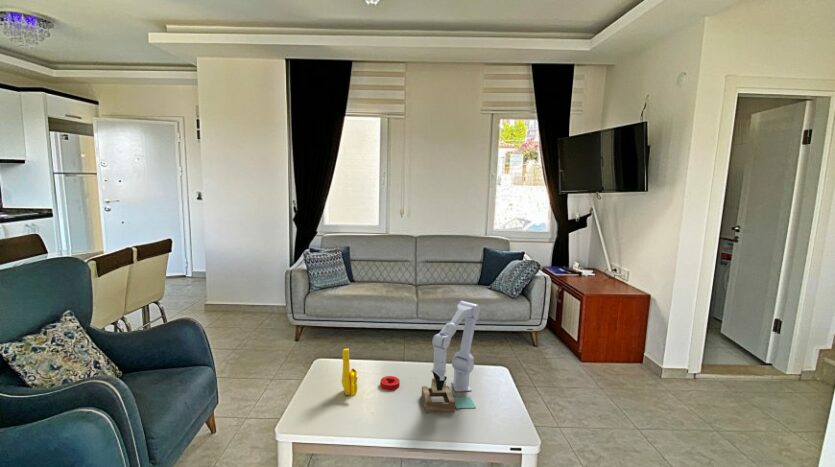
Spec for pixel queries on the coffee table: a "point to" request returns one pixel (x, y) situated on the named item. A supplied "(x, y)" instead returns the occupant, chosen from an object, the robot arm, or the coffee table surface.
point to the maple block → (434, 388)
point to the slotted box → (438, 400)
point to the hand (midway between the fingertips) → (438, 387)
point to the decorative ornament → (390, 383)
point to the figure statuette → (348, 375)
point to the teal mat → (464, 403)
